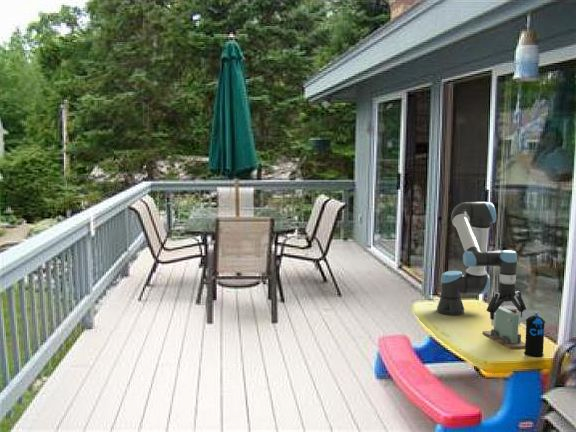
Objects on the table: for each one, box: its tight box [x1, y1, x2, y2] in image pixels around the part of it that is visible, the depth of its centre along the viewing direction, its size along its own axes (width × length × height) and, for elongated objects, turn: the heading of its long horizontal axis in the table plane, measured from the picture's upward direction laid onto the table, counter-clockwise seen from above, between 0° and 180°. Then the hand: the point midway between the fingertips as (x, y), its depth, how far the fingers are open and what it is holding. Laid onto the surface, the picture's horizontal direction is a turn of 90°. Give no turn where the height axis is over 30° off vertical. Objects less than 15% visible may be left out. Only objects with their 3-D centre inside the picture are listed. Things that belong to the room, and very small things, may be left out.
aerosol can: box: [523, 311, 546, 358], centre depth 269 cm, size 8×8×20 cm
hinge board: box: [482, 328, 525, 350], centre depth 289 cm, size 24×10×4 cm, turn 12°
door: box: [493, 305, 519, 344], centre depth 288 cm, size 16×4×14 cm, turn 12°
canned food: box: [501, 305, 518, 313], centre depth 309 cm, size 8×8×11 cm
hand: (505, 324), depth 288 cm, fingers open, 13 cm apart
